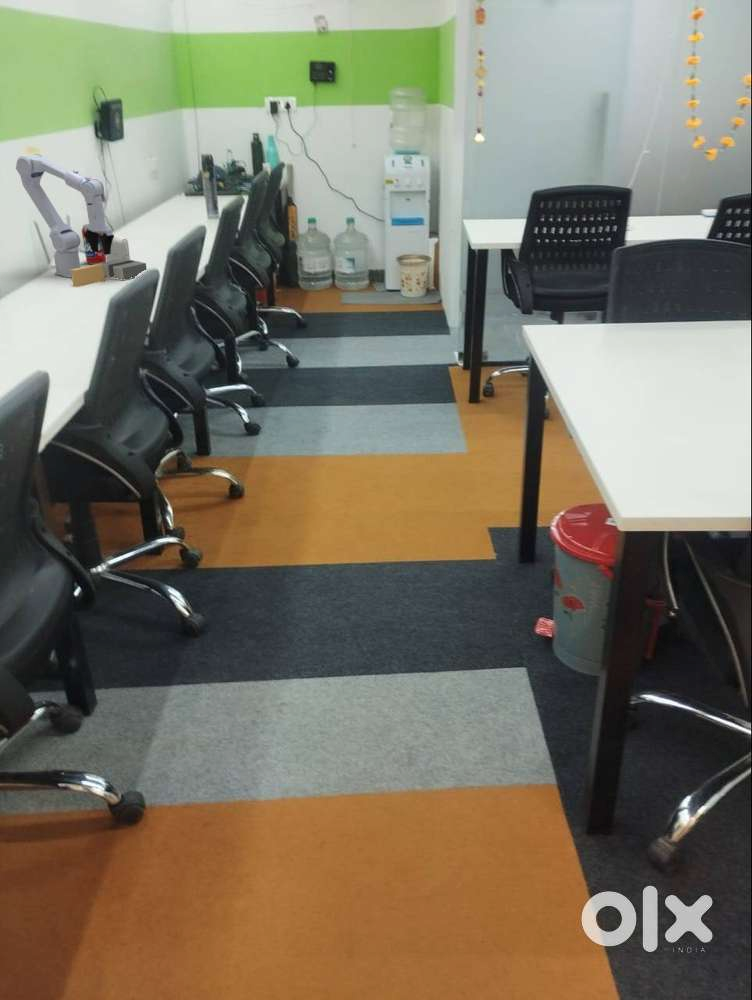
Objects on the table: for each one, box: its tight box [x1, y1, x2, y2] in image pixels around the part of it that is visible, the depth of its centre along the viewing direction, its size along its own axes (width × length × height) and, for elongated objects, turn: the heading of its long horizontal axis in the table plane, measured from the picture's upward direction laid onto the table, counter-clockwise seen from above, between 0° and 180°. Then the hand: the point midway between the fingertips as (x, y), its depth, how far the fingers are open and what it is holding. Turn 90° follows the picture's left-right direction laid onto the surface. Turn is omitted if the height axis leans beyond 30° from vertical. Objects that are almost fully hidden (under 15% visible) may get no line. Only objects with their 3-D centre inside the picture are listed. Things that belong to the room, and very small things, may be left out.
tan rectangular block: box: [71, 264, 106, 287], centre depth 312 cm, size 2×12×6 cm, turn 142°
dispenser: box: [99, 258, 148, 281], centre depth 323 cm, size 14×12×4 cm
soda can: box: [81, 223, 107, 265], centre depth 338 cm, size 8×8×15 cm
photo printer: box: [106, 234, 131, 262], centre depth 334 cm, size 10×4×12 cm, turn 61°
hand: (101, 252), depth 317 cm, fingers open, 7 cm apart
